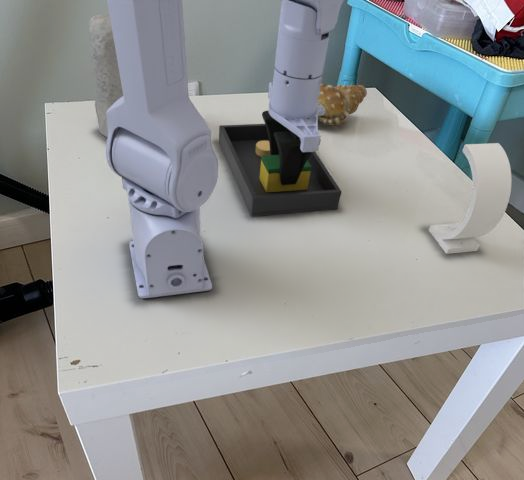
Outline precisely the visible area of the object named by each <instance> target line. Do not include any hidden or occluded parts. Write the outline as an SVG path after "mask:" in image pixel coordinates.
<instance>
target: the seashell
mask: <svg viewBox="0 0 524 480" xmlns="http://www.w3.org/2000/svg"><path fill="white" fill-rule="evenodd" d="M367 94H368V92H367V88H366V87H365V86H364V85H362V84H357V85H355V84H348V85H346V84H343V85H341V84H337V86H333V85H331V84H327V85H326V84H325V83H321V87H320V93H319V98H318V103H320V104H322V106H323V107H324V108H325V113H324V115H322V116H318V122H322V123H323V124H324V125H329V126H339V125H344V124H345V122H346V120H347V119H348V118H349V115H352V114H354V113H356V111H358V109H359V105H360V104H361V103H363V101H364V99H365V97H366V96H367Z"/></svg>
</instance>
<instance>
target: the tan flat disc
mask: <svg viewBox="0 0 524 480" xmlns="http://www.w3.org/2000/svg"><path fill="white" fill-rule="evenodd" d="M255 152H256V154H257V155H258V156H260V157H262V156H264V155H270V145H269V141H259V142H257V144H256V151H255Z"/></svg>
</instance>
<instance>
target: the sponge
mask: <svg viewBox="0 0 524 480" xmlns="http://www.w3.org/2000/svg"><path fill="white" fill-rule="evenodd" d="M279 167H280V159H279V155H264V156H262V158H261V167H260V177H259V179H260V181H261V183H262V185H263V187H264V189H265V191H266V193H267V192H281V191H294V190H307V188H308V183H309V177H310V172H311V165H310V164H309V162H308V160H307V162H306V163H305V165H304V167H303V169H302V172H301V174H300V176H299V178H298V180H297V182H296V184H291V185H282V184H281V182H280V174H279Z"/></svg>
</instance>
